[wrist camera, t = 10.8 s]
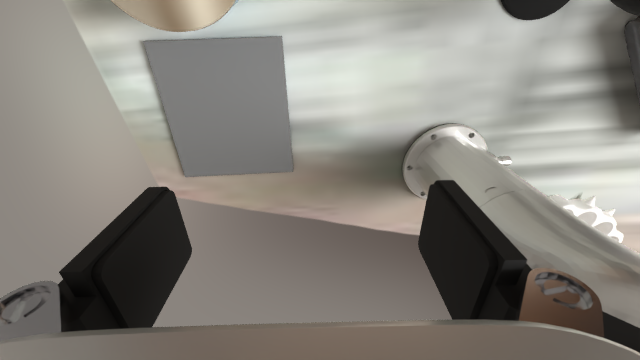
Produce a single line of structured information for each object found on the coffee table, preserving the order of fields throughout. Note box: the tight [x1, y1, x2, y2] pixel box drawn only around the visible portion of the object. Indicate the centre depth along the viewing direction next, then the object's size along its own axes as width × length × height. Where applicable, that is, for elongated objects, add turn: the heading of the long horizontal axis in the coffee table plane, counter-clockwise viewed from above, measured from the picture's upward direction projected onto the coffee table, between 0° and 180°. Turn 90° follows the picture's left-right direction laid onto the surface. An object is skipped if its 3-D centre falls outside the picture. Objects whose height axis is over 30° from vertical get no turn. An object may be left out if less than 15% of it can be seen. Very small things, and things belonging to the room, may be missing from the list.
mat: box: [143, 36, 293, 177], centre depth 37 cm, size 16×18×1 cm
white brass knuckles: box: [549, 195, 623, 243], centre depth 50 cm, size 3×18×15 cm
